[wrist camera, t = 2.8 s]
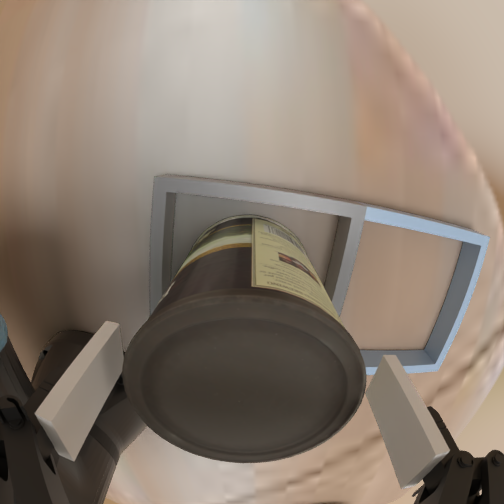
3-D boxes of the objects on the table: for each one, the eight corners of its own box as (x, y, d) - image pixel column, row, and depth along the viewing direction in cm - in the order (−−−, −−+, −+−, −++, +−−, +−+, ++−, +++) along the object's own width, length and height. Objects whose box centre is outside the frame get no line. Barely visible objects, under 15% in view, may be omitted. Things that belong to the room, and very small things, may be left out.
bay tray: (160, 337, 26) (151, 354, 23) (165, 174, 21) (154, 176, 19) (427, 356, 27) (437, 370, 24) (472, 229, 22) (489, 237, 20)
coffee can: (184, 320, 25) (136, 447, 12) (192, 206, 22) (109, 273, 9) (296, 334, 26) (324, 466, 12) (321, 225, 23) (404, 311, 9)
